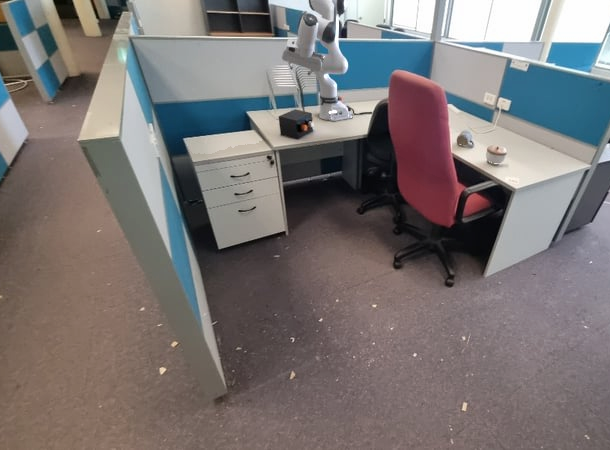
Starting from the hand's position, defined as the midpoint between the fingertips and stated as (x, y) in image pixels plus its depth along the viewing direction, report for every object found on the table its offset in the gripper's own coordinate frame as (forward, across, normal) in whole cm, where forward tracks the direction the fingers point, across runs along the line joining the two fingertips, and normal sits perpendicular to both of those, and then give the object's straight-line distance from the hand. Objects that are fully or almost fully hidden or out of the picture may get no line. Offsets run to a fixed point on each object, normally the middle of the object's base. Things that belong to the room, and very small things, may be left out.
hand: (300, 71), depth 177 cm
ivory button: (+27, -12, +10) cm, 32 cm away
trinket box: (-12, -110, +39) cm, 117 cm away
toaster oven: (+34, -6, +11) cm, 36 cm away
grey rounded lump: (+1, -103, +18) cm, 104 cm away
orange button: (+26, -9, +16) cm, 31 cm away
